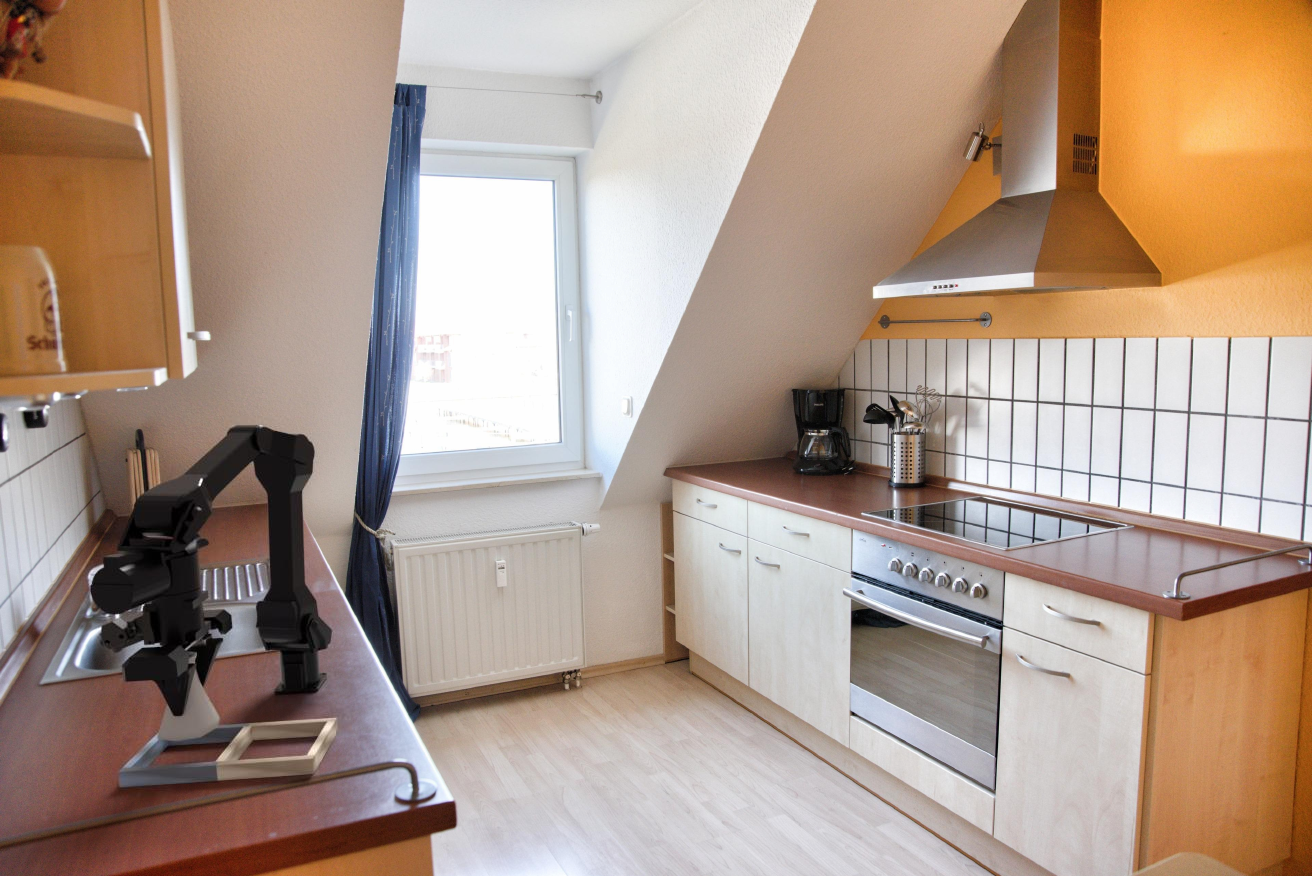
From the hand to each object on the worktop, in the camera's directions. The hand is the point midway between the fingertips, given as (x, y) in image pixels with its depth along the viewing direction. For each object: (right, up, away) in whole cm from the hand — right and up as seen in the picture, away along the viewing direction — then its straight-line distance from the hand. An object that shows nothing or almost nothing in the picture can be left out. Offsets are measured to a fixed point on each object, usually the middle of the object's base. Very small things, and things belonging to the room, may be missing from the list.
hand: (187, 707), depth 115 cm
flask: (0, -3, 0) cm, 3 cm away
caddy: (+6, -7, +1) cm, 9 cm away
